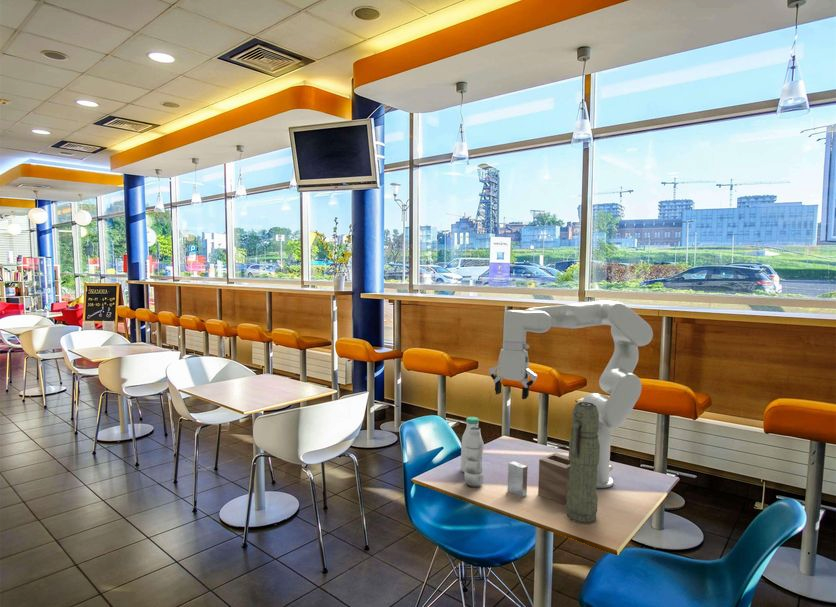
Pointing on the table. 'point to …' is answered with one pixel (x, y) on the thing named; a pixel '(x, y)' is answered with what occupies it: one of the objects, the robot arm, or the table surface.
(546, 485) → the slotted wooden block
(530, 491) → the table surface
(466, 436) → the milk bottle
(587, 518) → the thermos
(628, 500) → the table surface
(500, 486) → the table surface
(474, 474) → the plastic bottle
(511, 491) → the white block
